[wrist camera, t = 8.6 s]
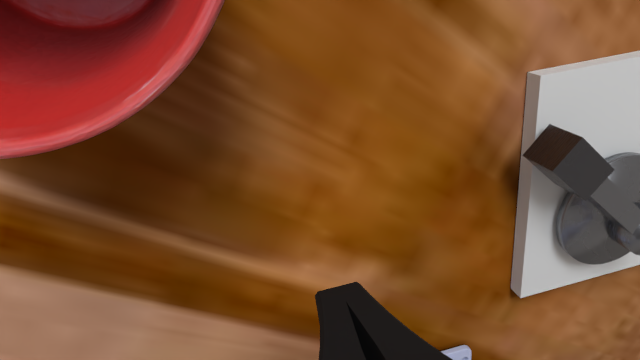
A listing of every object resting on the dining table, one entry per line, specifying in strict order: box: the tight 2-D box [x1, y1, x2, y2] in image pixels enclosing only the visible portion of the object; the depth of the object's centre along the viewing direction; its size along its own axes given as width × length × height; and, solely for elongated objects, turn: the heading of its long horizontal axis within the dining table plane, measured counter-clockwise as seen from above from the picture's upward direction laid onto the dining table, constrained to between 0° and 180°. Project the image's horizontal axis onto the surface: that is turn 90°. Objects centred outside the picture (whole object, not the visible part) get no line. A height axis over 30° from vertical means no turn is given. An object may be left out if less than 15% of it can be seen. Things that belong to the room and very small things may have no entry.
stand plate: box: [511, 51, 640, 298], centre depth 26 cm, size 14×14×1 cm
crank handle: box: [523, 124, 640, 265], centre depth 24 cm, size 11×7×2 cm, turn 52°
